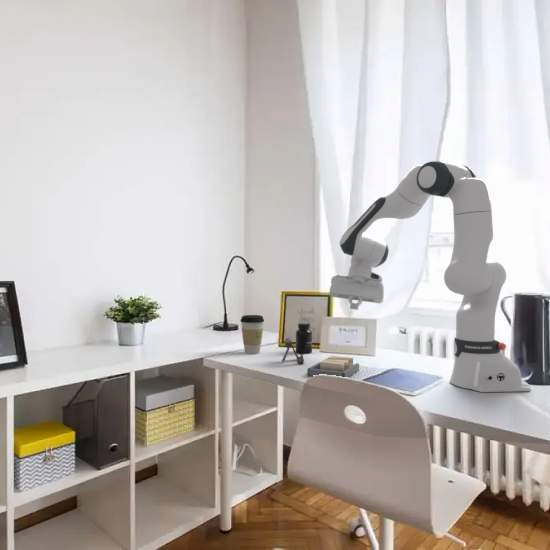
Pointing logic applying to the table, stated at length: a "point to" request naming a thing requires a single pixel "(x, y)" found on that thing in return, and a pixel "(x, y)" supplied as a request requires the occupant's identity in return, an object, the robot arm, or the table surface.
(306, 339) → the supplement bottle
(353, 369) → the tray
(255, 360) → the table surface
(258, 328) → the coffee cup
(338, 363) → the green tan block
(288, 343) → the portable electronic device stand
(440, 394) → the table surface
